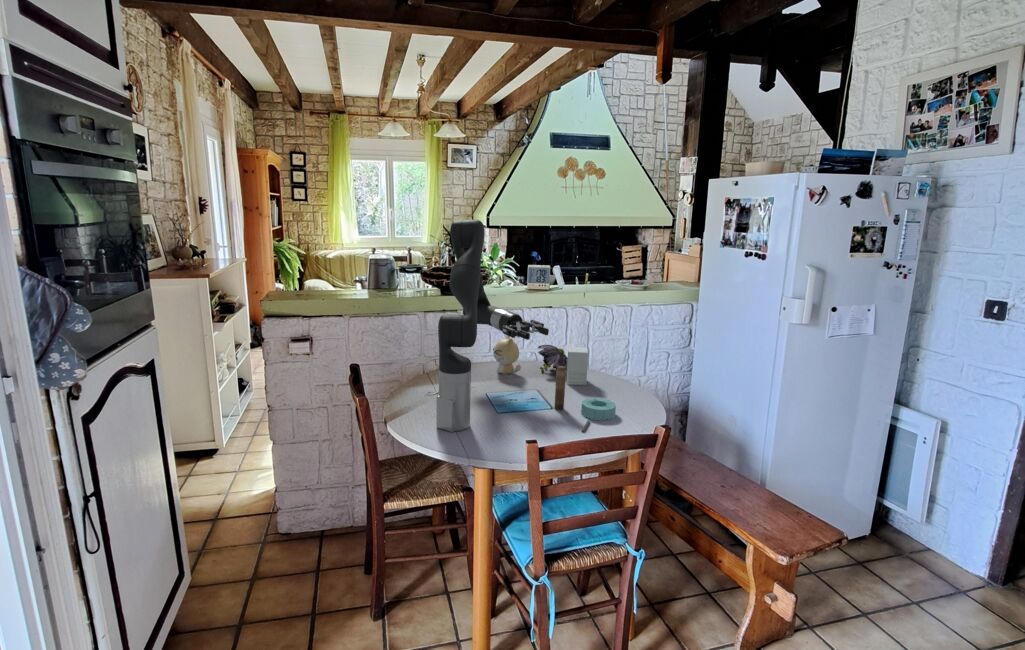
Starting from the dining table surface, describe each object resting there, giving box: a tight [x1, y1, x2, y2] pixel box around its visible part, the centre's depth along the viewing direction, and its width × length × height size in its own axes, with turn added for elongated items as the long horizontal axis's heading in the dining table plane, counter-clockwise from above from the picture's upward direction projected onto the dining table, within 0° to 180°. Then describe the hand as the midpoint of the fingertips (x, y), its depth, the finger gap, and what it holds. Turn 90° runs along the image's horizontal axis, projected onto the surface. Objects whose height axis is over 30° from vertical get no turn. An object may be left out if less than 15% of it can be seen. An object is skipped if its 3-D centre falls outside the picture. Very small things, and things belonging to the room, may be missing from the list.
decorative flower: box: [537, 344, 568, 373], centre depth 219 cm, size 15×12×15 cm
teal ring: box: [580, 397, 617, 421], centre depth 177 cm, size 10×10×4 cm
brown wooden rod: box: [554, 366, 567, 411], centre depth 180 cm, size 3×3×14 cm
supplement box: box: [566, 346, 589, 386], centre depth 207 cm, size 7×7×13 cm
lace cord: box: [581, 419, 591, 433], centre depth 167 cm, size 8×1×1 cm, turn 160°
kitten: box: [492, 335, 522, 375], centre depth 216 cm, size 15×10×15 cm
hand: (538, 334), depth 182 cm, fingers open, 8 cm apart
